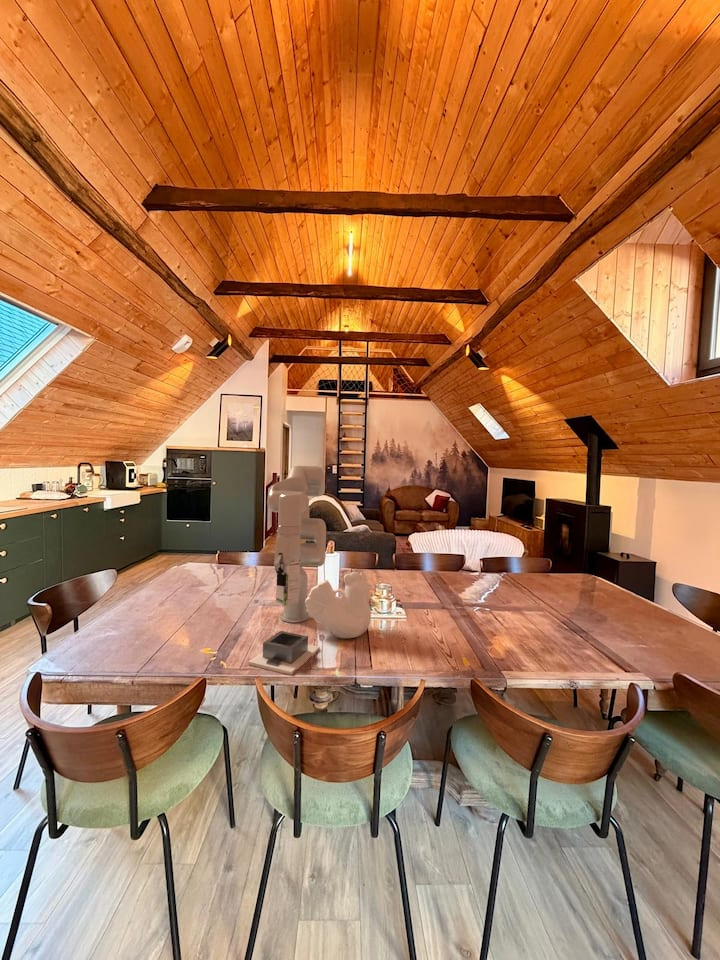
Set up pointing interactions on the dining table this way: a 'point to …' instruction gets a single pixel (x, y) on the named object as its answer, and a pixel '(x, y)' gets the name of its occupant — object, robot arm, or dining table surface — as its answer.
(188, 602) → the dining table surface
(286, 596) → the syrup box
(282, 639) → the pocket stand
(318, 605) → the decorative rooster
